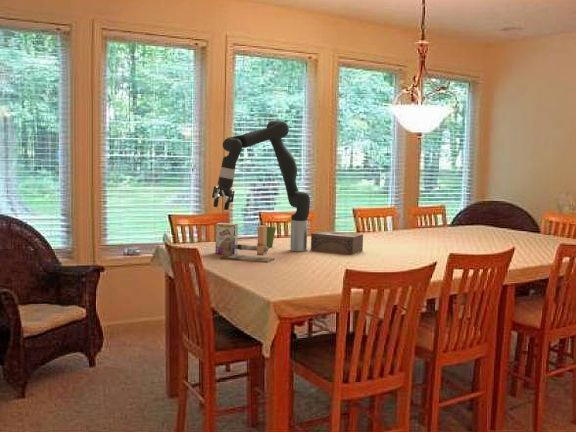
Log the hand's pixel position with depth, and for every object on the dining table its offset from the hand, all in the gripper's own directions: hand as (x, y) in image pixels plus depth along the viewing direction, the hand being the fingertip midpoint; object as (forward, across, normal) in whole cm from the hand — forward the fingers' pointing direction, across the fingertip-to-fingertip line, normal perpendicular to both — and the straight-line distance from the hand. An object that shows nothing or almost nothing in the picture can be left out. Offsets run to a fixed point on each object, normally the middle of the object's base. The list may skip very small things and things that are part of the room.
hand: (220, 208), depth 319 cm
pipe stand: (+23, -12, -14) cm, 30 cm away
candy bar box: (+25, +7, -16) cm, 31 cm away
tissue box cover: (+14, -22, -72) cm, 76 cm away
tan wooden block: (+19, -18, -17) cm, 32 cm away
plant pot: (+20, +12, -49) cm, 55 cm away
